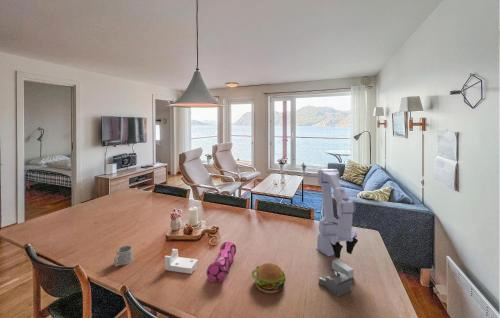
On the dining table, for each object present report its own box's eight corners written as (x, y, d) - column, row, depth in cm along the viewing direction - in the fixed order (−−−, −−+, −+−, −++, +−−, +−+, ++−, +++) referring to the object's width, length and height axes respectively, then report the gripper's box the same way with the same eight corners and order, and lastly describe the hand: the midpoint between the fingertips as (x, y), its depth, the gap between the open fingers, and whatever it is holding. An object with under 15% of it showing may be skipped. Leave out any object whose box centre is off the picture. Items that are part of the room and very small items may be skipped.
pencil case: (228, 285, 98) (227, 263, 97) (206, 283, 100) (205, 261, 98) (238, 257, 119) (237, 238, 118) (219, 255, 121) (219, 237, 119)
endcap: (317, 283, 99) (318, 271, 98) (334, 276, 104) (335, 265, 103) (335, 298, 91) (336, 285, 90) (353, 289, 95) (353, 277, 94)
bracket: (165, 271, 108) (164, 256, 107) (173, 263, 115) (173, 248, 114) (191, 275, 105) (190, 260, 104) (198, 266, 112) (197, 251, 111)
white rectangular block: (331, 268, 109) (332, 260, 109) (337, 266, 111) (337, 258, 110) (347, 279, 101) (348, 271, 101) (353, 277, 103) (353, 269, 102)
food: (252, 273, 106) (252, 257, 104) (283, 274, 105) (283, 258, 104) (251, 295, 92) (251, 277, 91) (286, 296, 92) (287, 278, 90)
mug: (124, 257, 120) (123, 244, 119) (136, 258, 118) (135, 246, 117) (109, 268, 110) (108, 255, 109) (121, 270, 109) (120, 257, 108)
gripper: (340, 233, 96) (338, 264, 98) (363, 226, 103) (361, 255, 105) (327, 227, 102) (326, 256, 104) (350, 221, 109) (348, 248, 111)
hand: (343, 255), depth 105 cm, fingers open, 7 cm apart
